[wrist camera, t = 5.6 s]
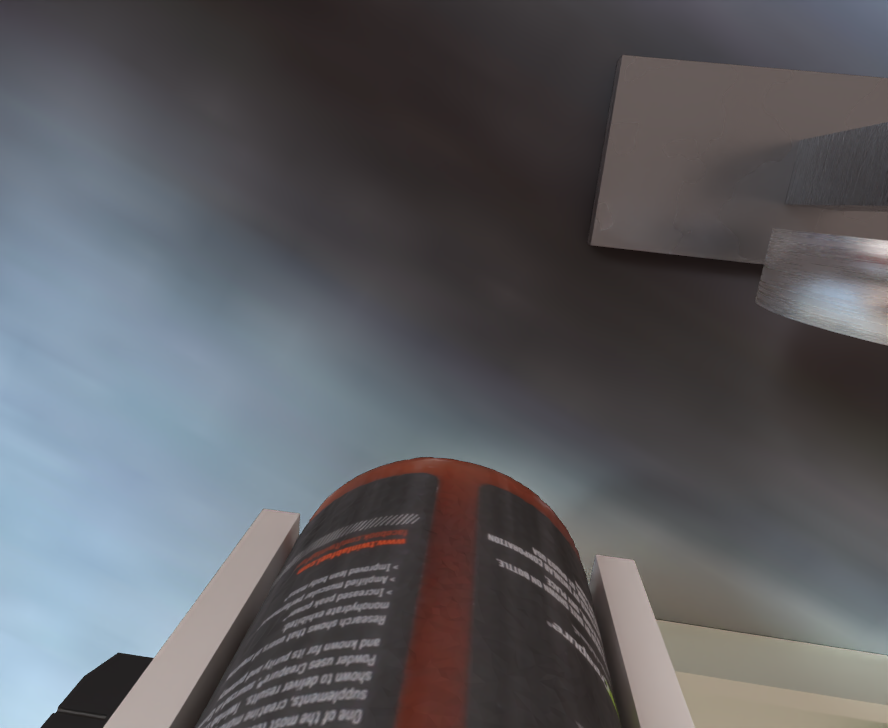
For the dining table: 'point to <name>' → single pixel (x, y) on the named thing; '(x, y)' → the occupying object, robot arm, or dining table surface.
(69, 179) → the dining table surface
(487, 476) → the supplement bottle
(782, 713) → the tray
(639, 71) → the pulley bracket
